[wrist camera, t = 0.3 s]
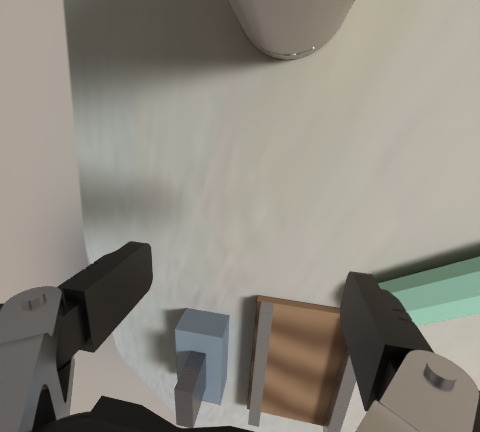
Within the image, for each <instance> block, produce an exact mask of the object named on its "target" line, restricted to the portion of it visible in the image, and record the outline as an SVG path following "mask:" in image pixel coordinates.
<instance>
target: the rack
mask: <svg viewBox="0 0 480 432" xmlns="http://www.w3.org/2000/svg"><path fill="white" fill-rule="evenodd" d="M355 383H356V377H355V373H354V370H353V366H352V362H351V359H350V355H349V352H348V348H347V344H346V341H345V337H344V333H343V330H342V326H341V322H340V308H335V307H329V306H323V305H316V304H310V303H304V302H297V301H291V300H285V299H279V298H272V297H266V296H260V295H258V299H257V308H256V318H255V329H254V339H253V350H252V360H251V371H250V381H249V392H248V403H247V409H250V412H249V422H248V424H249V425H254V426H258V427H259V421H260V413H261V412H264V413H268V414H272V415H277V416H281V417H286V418H290V419H295V420H299V421H303V422H308V423H312V424H317V425H321V426H323V432H340V430H341V427H342V424H343V421H344V418H345V414H346V411H347V408H348V405H349V402H350V398H351V395H352V392H353V389H354V386H355Z"/></svg>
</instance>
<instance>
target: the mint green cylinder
mask: <svg viewBox="0 0 480 432" xmlns="http://www.w3.org/2000/svg"><path fill="white" fill-rule="evenodd" d="M378 285H379V287H380V288H381V289H384V290H388V291H389V292H390V293H391V294H393V295H394V296H395V297H396V298H398V299H399V300H400V302H401V303H402V305H403V306H404V308H405V309H406V312H407V313H408V314H409V315H410V317H411V318H412V322H414V323H415V324H416V326H420V325H425V324H430V323H435V322H440V321H445V320H450V319H455V318H460V317H465V316H470V315H474V314H479V313H480V257H476V258H472V259H468V260H465V261H461V262H457V263H453V264H450V265H446V266H442V267H438V268H434V269H431V270H427V271H423V272H419V273H416V274H412V275H408V276H404V277H400V278H397V279H393V280H389V281H385V282H381V283H378Z"/></svg>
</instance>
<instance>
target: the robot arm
mask: <svg viewBox="0 0 480 432" xmlns="http://www.w3.org/2000/svg"><path fill="white" fill-rule="evenodd" d="M228 1H229V3H230V5H231V7H232V9H233V11H234V12H235V14H236V16H237V18H238V20H239V22H240V24H241V26H242V27H243V29H244V31H245V33H246V35H247V37H248V38H249V40H250V41H251V42H252V43H253V44H254V45H255V47H256V48H258V49H259V50H260V51H262V52H263V53H264V54H266V55H269V56H271V57H274V58H277V59H284V60H289V59H298V58H301V57H304V56H307V55H310V54H311V53H313V52H315V51H317V50H318V49H320V48H321V47H322V46H323V45H325V44H326V43H327V42H328V41H329V40H330V39H331V38H332V37H333V35H334V34H335V33H336V31H337V30H338V29H339V28H340V26H341V24H342V22H343V20H344V19H345V17H346V15H347V13H348V12H349V10H350V8H351V7H352V5H353V3H354V2H355V0H228ZM152 280H153V272H152V255H151V247H150V245H149V244H148V243H140V242H133V241H130V242H128V243H127V244H125V245H124V246H123V247H121V248H120V249H118V250H117V251H115V252H112V253H110V254H107V255H104V256H103V257H101V258H100V259H98V260H97V261H95V262H94V264H91V265H89V266H88V267H86V269H83V270H82V271H80V272H79V273H77V274H76V275H74V276H73V277H71V278H70V279H68V280H67V281H65V282H64V283H62V284H61V285H59V286H58V287H52V286H45V287H37V288H32V289H29V290H26V291H23V292H21V293H19V294H17V295H15V296H13V297H11V298H10V299H9V300H8V301H6V302H5V303H4V304H0V432H254V431H249V430H245V429H241V428H237V427H232V426H221V427H202V428H178V427H176V426H175V425H173V424H171V423H170V422H168V421H166V420H165V419H163V418H162V417H160V416H158V415H157V414H155V413H153V412H152V411H150V410H149V409H147V408H145V407H144V406H142V405H139V404H135V403H131V402H126V401H122V400H118V399H114V398H109V397H105V396H101V398H100V399H99V400H98V402H97V403H96V405H95V406H94V408H93V409H92V410H91V412H83V413H78V414H74V415H70V406H71V396H72V386H73V376H74V366H75V359H74V354H75V353H76V352H77V351H78V350H83V351H88V352H93V353H94V352H95V351H96V350H97V349H98V347H100V345H101V344H102V343H103V342H104V341H105V340H106V338H107V337H108V336H109V335H110V334H111V333H112V332H113V331H114V329H115V328H116V327H117V326H118V325H119V324H120V323H121V321H122V320H123V319H124V318H125V317H126V316H127V315H128V314H129V312H130V311H131V310H132V309H133V308H134V307H135V306H136V304H137V303H138V302H139V301H140V300H141V299H142V298H143V296H144V295H145V294H146V293H147V292H148V291H149V289H150V287H151V284H152ZM340 322H341V326H342V330H343V333H344V337H345V341H346V344H347V348H348V352H349V355H350V359H351V362H352V366H353V370H354V373H355V377H356V381H357V384H358V388H359V391H360V395H361V399H362V402H363V406H364V410H365V411H368V412H367V413H366V415H365V417H364V418H363V420H362V422H361V423H360V425H359V427H358V428H357V430H356V432H480V391H479V390H478V388H477V386H476V384H475V382H474V381H473V380H472V378H471V377H470V376H469V375H468V374H467V373H466V372H465V371H464V370H463V369H461V368H460V367H459V366H458V365H456V364H455V363H453V362H452V361H450V360H448V359H447V358H445V357H442V356H440V355H438V354H435V353H434V352H433V350H432V349H431V347H430V346H429V344H428V343H427V341H426V340H425V338H424V337H423V335H422V333H421V332H420V330H419V329H418V327H417V326H416V324H415V323H414V322H412V318H411V317H410V315H409V314H408V313H407V312H406V309H405V308H404V306H403V305H402V303H401V302H400V300H399V299H398V298H396V297H395V296H394V295H393V294H391V293H390V292H389V291H388V290H384V289H381V288H380V287H379V285H378V283H377V282H376V280H375V278H374V277H373V275H372V274H366V273H358V272H351V271H350V272H349V273H348V276H347V280H346V284H345V289H344V293H343V298H342V303H341V308H340Z"/></svg>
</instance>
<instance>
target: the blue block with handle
mask: <svg viewBox="0 0 480 432" xmlns="http://www.w3.org/2000/svg"><path fill="white" fill-rule="evenodd" d="M228 337H229V315H224V314H218V313H212V312H206V311H201V310H195V309H189V308H186V309H185V311H184V313H183V315H182V317H181V319H180V321H179V322H178V324H177V326H176V328H175V342H176V361H177V379H178V382H177V384H176V387H175V389H174V390H175V406H176V421H177V425H181V426H185V427H189V428H193V427H194V424H195V421H196V418H197V415H198V411H199V408H200V405H201V402H202V401H205V402H210V403H214V404H218V405H220V404H221V400H222V396H223V392H224V387H225V383H226V379H227V359H228Z"/></svg>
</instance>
